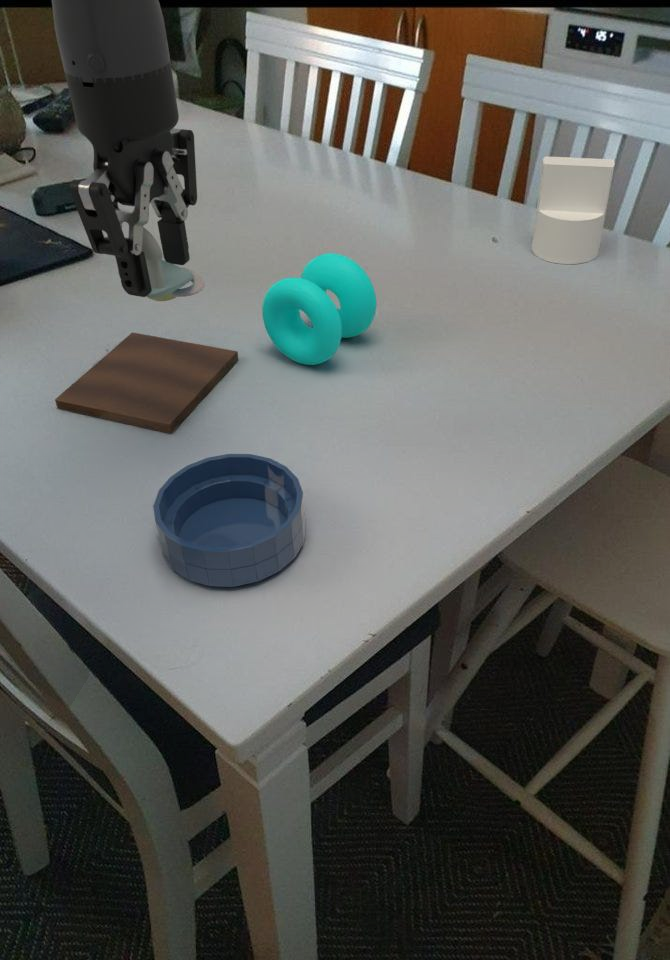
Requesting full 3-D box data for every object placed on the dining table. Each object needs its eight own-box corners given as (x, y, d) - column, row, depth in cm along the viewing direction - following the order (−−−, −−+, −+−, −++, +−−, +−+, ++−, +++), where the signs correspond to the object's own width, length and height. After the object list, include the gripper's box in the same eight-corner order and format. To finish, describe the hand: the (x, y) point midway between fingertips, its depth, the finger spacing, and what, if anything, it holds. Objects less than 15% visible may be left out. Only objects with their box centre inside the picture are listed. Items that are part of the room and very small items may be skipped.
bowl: (268, 607, 63) (263, 567, 61) (135, 569, 67) (124, 529, 64) (326, 509, 72) (324, 470, 69) (206, 480, 76) (199, 442, 73)
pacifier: (168, 267, 74) (113, 291, 70) (156, 199, 70) (98, 221, 66) (221, 291, 70) (166, 316, 67) (212, 220, 66) (153, 244, 63)
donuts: (381, 340, 95) (381, 259, 88) (333, 380, 88) (329, 296, 82) (311, 319, 99) (307, 241, 93) (261, 355, 93) (252, 274, 87)
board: (171, 434, 82) (169, 424, 81) (57, 408, 86) (54, 399, 85) (238, 360, 92) (237, 351, 92) (134, 340, 97) (132, 331, 96)
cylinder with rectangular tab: (529, 261, 109) (541, 172, 102) (533, 235, 116) (544, 149, 108) (598, 266, 108) (615, 175, 100) (598, 239, 114) (614, 151, 107)
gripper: (128, 35, 64) (165, 239, 75) (8, 82, 54) (71, 310, 65) (211, 39, 62) (237, 249, 73) (101, 90, 52) (150, 325, 63)
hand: (158, 277), depth 69 cm, fingers closed on pacifier, 5 cm apart
